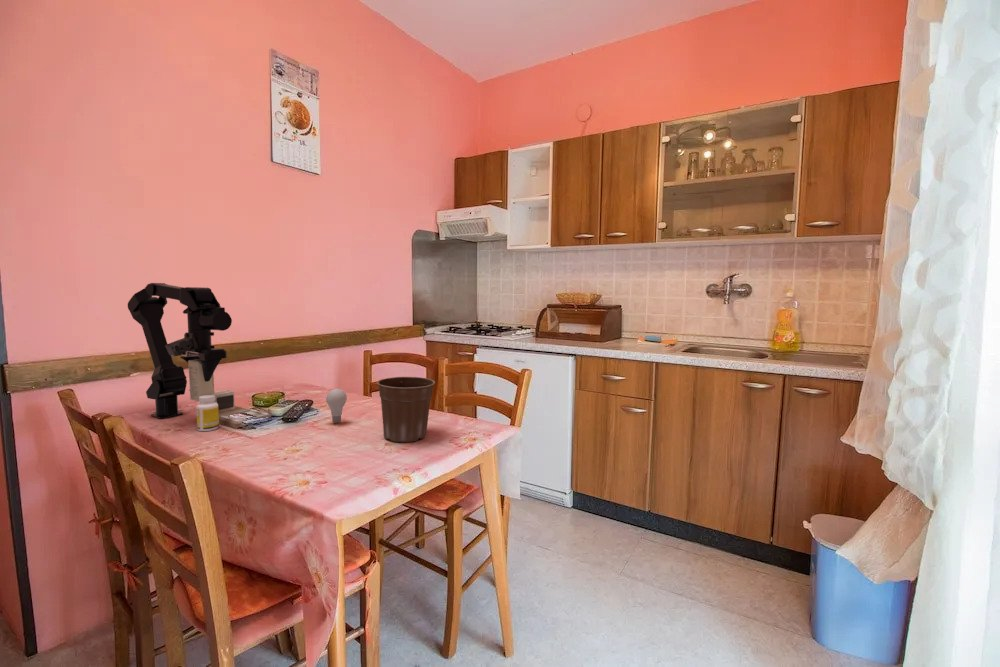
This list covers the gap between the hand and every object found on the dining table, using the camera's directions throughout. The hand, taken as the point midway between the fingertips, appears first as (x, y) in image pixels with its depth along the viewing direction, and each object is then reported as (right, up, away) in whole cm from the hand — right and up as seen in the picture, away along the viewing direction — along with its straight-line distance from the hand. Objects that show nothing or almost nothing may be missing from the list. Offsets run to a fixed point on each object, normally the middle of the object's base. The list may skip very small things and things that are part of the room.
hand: (201, 380), depth 136 cm
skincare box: (0, -6, +1) cm, 6 cm away
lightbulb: (+40, -14, +4) cm, 42 cm away
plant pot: (+64, -16, -6) cm, 66 cm away
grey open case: (+6, -13, +6) cm, 15 cm away
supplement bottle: (+5, -14, -5) cm, 16 cm away
